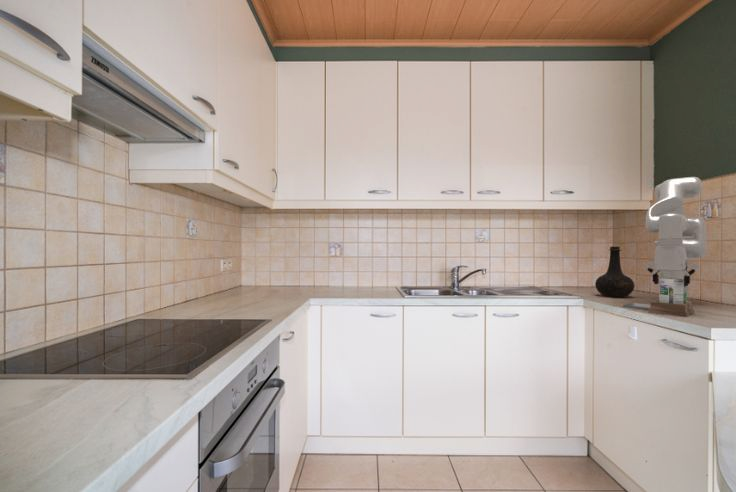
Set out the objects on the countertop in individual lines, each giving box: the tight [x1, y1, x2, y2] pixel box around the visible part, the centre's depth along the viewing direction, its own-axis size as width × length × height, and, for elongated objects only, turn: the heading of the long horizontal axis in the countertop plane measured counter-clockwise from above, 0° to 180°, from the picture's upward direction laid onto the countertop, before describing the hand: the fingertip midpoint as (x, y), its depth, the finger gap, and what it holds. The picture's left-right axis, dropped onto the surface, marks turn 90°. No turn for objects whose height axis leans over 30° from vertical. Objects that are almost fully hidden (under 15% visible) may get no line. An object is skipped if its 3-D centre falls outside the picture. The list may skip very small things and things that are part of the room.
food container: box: [683, 284, 690, 302], centre depth 162 cm, size 12×6×10 cm, turn 115°
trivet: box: [622, 302, 650, 311], centre depth 161 cm, size 11×11×1 cm
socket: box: [648, 299, 695, 318], centre depth 147 cm, size 12×12×4 cm
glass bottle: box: [594, 246, 635, 298], centre depth 197 cm, size 18×18×28 cm
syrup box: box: [658, 277, 683, 304], centre depth 147 cm, size 6×6×14 cm
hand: (670, 284), depth 146 cm, fingers open, 9 cm apart
